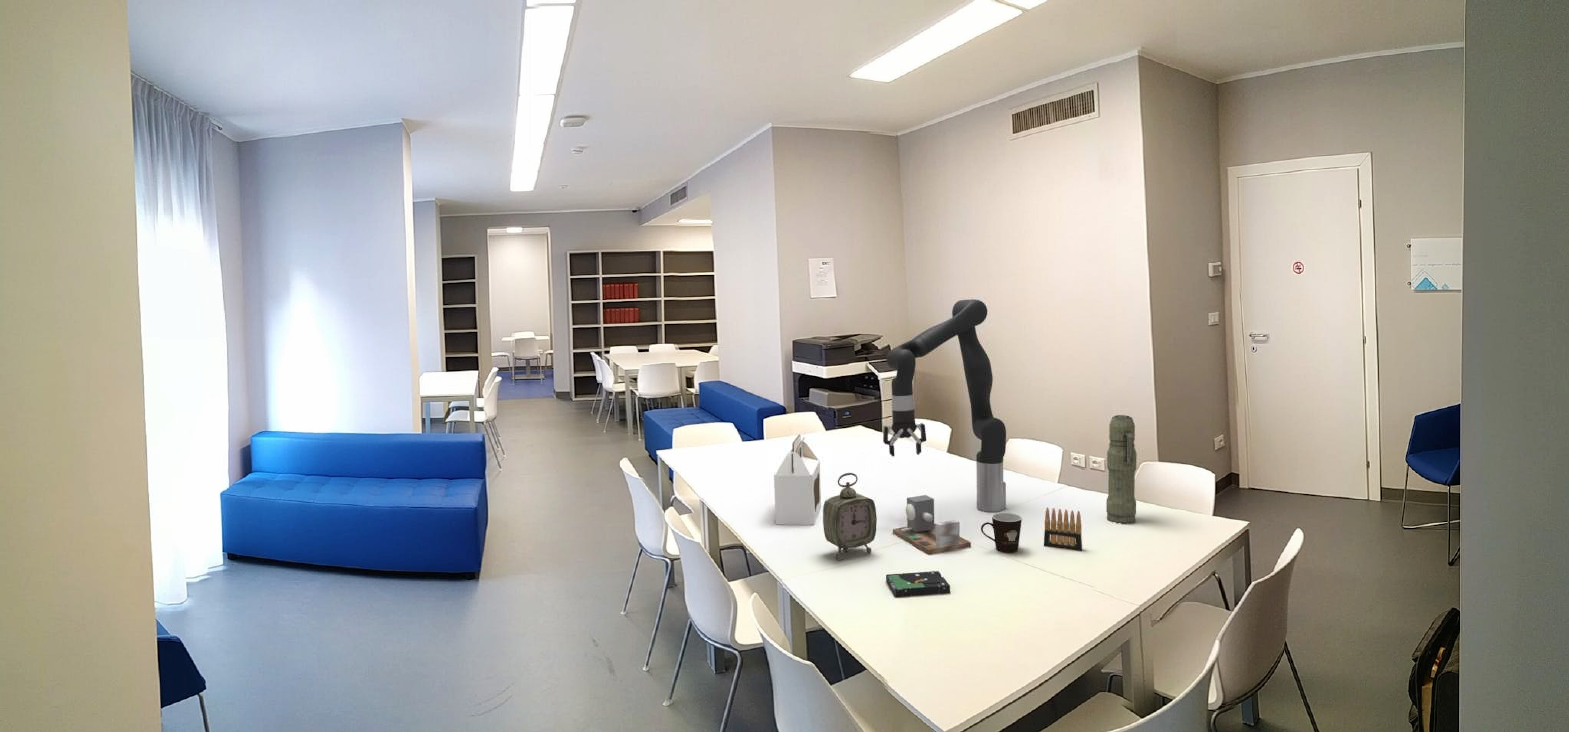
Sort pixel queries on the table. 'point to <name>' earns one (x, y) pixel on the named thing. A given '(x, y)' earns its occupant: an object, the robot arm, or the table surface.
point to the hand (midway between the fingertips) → (905, 455)
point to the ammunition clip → (1063, 531)
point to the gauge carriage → (920, 513)
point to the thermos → (1121, 470)
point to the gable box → (798, 487)
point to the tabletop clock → (849, 519)
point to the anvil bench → (935, 538)
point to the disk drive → (917, 584)
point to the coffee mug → (1005, 531)
